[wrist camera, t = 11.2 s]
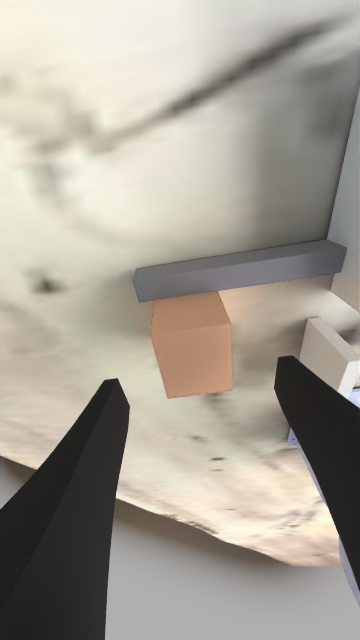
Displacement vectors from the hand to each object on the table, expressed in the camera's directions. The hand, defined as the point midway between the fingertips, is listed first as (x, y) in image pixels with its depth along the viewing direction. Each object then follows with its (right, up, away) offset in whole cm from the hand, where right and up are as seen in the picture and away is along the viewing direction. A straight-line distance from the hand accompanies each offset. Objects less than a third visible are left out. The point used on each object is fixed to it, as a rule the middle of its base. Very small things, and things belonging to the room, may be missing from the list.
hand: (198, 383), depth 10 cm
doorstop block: (0, +4, +7) cm, 8 cm away
